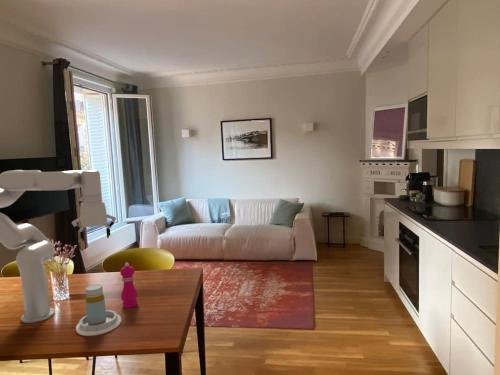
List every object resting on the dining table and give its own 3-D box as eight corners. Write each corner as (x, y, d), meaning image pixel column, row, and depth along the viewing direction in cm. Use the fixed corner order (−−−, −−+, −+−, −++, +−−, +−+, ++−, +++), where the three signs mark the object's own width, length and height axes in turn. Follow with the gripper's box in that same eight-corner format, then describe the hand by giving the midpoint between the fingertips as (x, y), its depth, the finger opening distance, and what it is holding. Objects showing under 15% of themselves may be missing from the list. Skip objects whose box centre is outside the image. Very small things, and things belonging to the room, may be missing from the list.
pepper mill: (133, 309, 158) (129, 265, 155) (118, 308, 159) (115, 265, 157) (141, 302, 165) (138, 260, 163) (127, 301, 166) (123, 260, 164)
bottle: (101, 317, 149) (98, 282, 147) (109, 321, 144) (106, 286, 143) (84, 323, 143) (81, 288, 142) (93, 328, 139) (89, 291, 137)
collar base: (66, 330, 141) (66, 323, 140) (102, 312, 155) (102, 305, 155) (95, 339, 132) (94, 332, 132) (130, 320, 147) (129, 313, 147)
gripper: (68, 202, 143) (72, 243, 145) (114, 198, 149) (117, 238, 151) (70, 200, 150) (74, 239, 152) (114, 196, 156) (117, 234, 158)
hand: (95, 238), depth 151 cm, fingers open, 9 cm apart
